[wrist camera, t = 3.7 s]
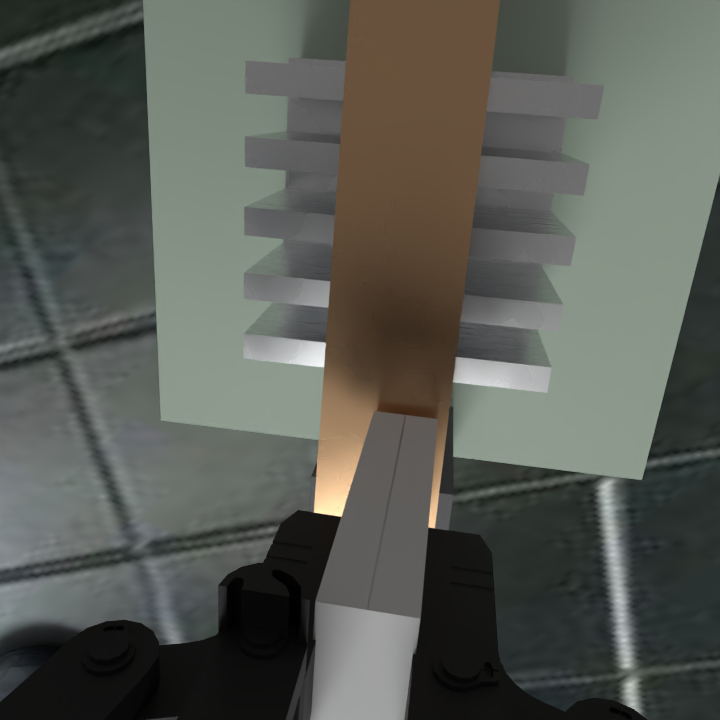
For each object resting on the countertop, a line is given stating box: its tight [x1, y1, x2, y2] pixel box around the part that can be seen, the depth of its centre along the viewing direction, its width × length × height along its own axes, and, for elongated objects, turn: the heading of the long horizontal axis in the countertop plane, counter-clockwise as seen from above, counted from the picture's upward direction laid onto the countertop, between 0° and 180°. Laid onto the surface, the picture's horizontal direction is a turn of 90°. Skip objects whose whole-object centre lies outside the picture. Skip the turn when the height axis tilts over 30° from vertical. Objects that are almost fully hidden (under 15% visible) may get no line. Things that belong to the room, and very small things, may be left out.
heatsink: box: [243, 57, 604, 393], centre depth 19 cm, size 8×8×6 cm
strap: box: [314, 0, 500, 528], centre depth 15 cm, size 4×15×1 cm, turn 176°
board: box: [143, 0, 720, 530], centre depth 18 cm, size 18×18×10 cm
